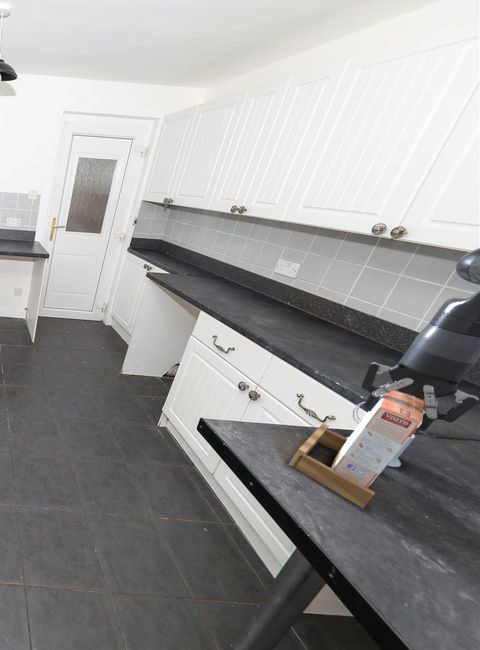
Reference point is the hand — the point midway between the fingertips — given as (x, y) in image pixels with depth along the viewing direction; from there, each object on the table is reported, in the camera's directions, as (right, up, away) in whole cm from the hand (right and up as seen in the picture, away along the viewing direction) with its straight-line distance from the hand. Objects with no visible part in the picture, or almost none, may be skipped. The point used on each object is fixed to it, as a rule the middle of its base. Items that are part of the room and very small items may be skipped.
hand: (391, 419), depth 70 cm
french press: (+14, -13, +16) cm, 25 cm away
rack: (-3, -14, +8) cm, 17 cm away
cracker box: (-2, -15, +7) cm, 17 cm away
